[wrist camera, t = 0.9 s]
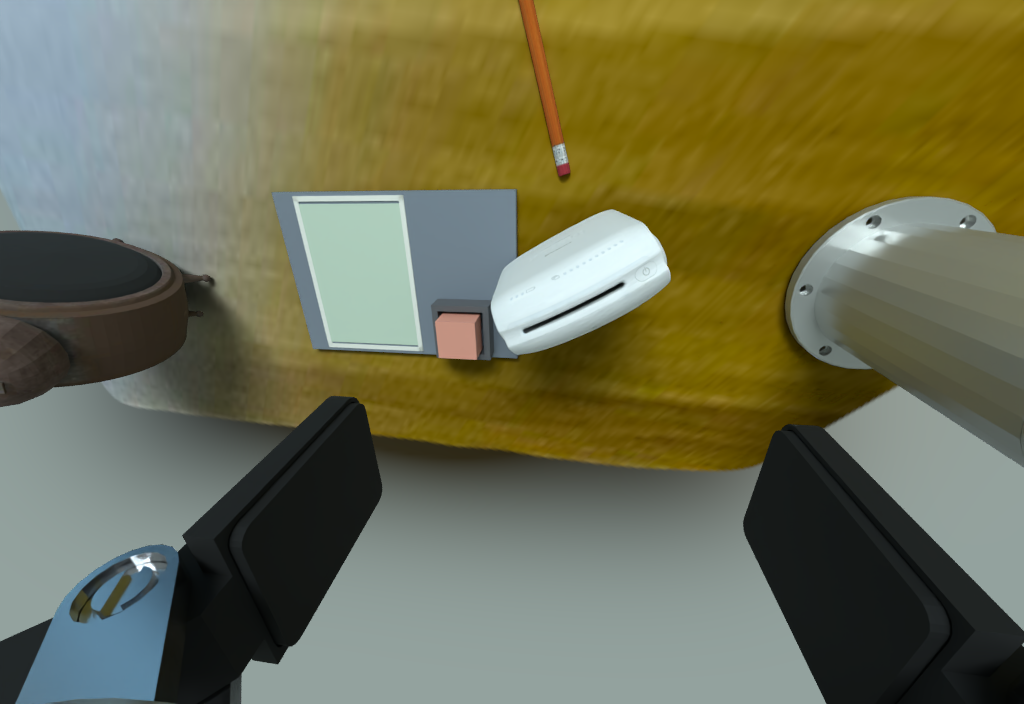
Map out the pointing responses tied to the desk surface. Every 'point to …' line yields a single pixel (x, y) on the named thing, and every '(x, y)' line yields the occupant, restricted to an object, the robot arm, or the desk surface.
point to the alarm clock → (84, 311)
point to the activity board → (397, 264)
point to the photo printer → (578, 282)
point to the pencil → (544, 85)
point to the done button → (459, 335)
